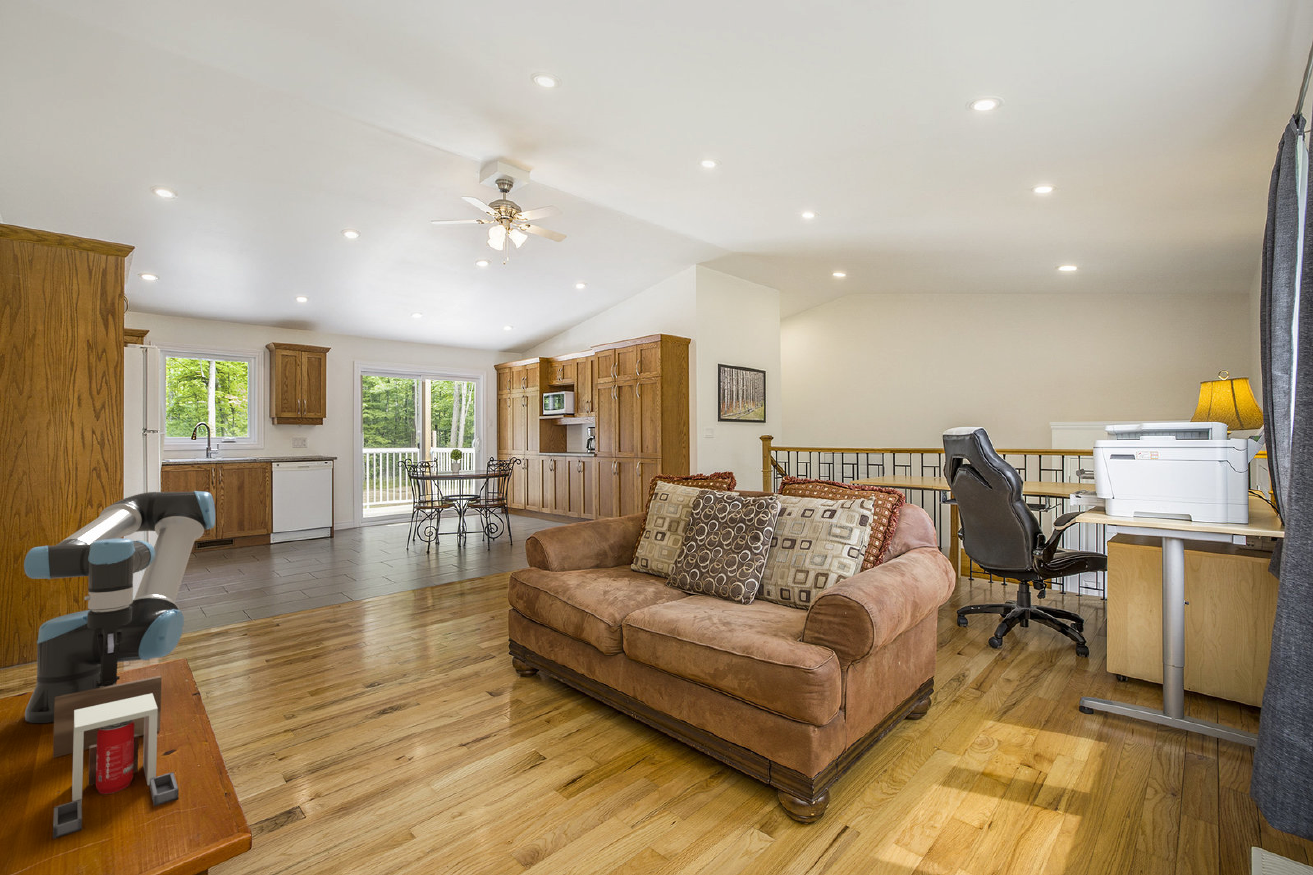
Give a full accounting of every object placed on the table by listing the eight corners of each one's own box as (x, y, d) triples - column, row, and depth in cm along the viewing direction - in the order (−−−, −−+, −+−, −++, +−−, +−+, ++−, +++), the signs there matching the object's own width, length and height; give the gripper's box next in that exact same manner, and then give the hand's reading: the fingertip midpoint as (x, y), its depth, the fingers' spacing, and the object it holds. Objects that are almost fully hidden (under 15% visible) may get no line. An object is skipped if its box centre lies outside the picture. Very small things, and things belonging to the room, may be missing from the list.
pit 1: (53, 817, 103) (54, 807, 103) (81, 809, 105) (81, 799, 105) (52, 839, 97) (53, 828, 97) (81, 829, 99) (82, 819, 99)
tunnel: (72, 785, 112) (74, 710, 113) (150, 763, 120) (152, 693, 121) (72, 808, 105) (74, 727, 106) (155, 783, 113) (157, 708, 114)
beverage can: (110, 797, 109) (112, 731, 109) (88, 793, 110) (89, 728, 110) (140, 781, 114) (141, 718, 114) (118, 778, 115) (120, 716, 115)
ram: (53, 755, 123) (54, 697, 123) (159, 728, 135) (160, 675, 135) (50, 796, 108) (52, 730, 109) (170, 762, 120) (171, 703, 121)
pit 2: (149, 788, 112) (149, 778, 112) (172, 781, 114) (173, 771, 114) (154, 806, 106) (154, 796, 106) (178, 798, 108) (178, 788, 108)
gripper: (86, 605, 137) (83, 708, 136) (88, 616, 128) (84, 727, 127) (130, 599, 142) (127, 699, 141) (134, 610, 133) (131, 716, 132)
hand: (107, 712), depth 134 cm, fingers closed
